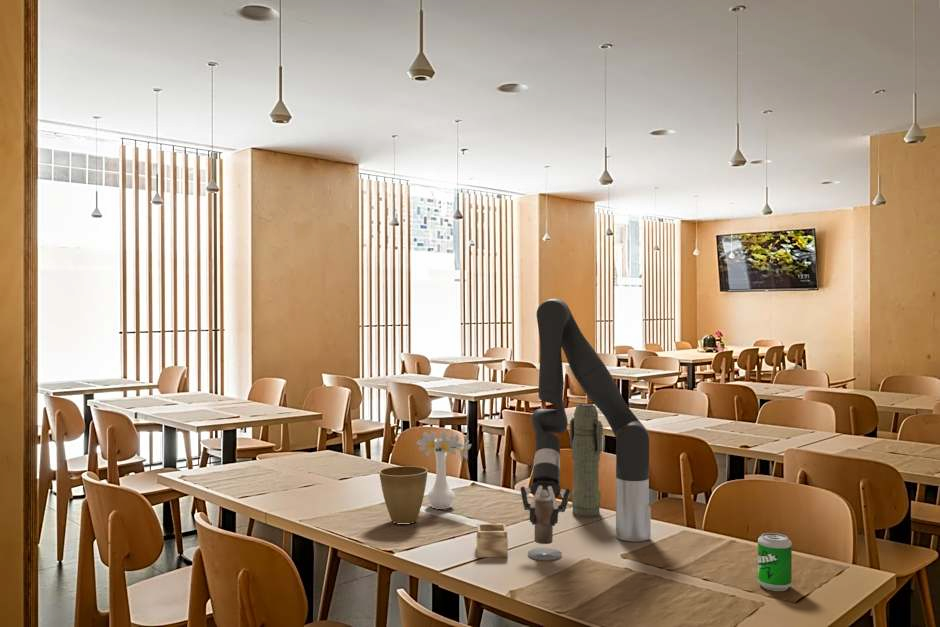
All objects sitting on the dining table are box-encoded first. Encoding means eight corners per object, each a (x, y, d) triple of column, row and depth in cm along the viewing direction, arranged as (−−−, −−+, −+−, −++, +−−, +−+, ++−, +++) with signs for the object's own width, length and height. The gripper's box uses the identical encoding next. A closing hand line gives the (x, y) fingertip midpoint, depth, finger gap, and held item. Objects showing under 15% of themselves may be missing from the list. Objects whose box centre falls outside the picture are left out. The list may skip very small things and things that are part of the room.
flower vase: (466, 513, 253) (466, 436, 252) (411, 510, 256) (410, 434, 256) (474, 503, 265) (474, 429, 265) (421, 501, 269) (421, 428, 269)
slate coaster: (559, 550, 215) (559, 547, 215) (563, 560, 206) (563, 558, 206) (526, 550, 215) (526, 548, 215) (529, 561, 206) (529, 558, 206)
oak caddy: (505, 546, 219) (505, 523, 219) (507, 556, 210) (507, 532, 210) (476, 546, 219) (476, 523, 219) (477, 557, 210) (477, 532, 210)
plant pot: (431, 515, 250) (430, 465, 250) (423, 529, 236) (423, 476, 235) (384, 514, 252) (384, 465, 252) (374, 528, 237) (374, 475, 237)
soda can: (783, 580, 191) (783, 531, 191) (797, 592, 184) (797, 541, 183) (752, 581, 191) (752, 532, 191) (765, 592, 183) (765, 541, 183)
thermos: (595, 519, 246) (595, 407, 245) (563, 513, 253) (563, 404, 252) (609, 513, 253) (609, 404, 252) (577, 507, 260) (577, 401, 259)
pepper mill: (551, 538, 213) (552, 487, 213) (553, 544, 209) (554, 492, 208) (533, 538, 213) (534, 487, 213) (535, 543, 208) (536, 492, 208)
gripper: (520, 460, 219) (515, 515, 207) (572, 462, 217) (570, 518, 205) (521, 475, 224) (517, 529, 213) (572, 477, 222) (570, 532, 211)
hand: (543, 523), depth 209 cm, fingers closed on pepper mill, 4 cm apart
